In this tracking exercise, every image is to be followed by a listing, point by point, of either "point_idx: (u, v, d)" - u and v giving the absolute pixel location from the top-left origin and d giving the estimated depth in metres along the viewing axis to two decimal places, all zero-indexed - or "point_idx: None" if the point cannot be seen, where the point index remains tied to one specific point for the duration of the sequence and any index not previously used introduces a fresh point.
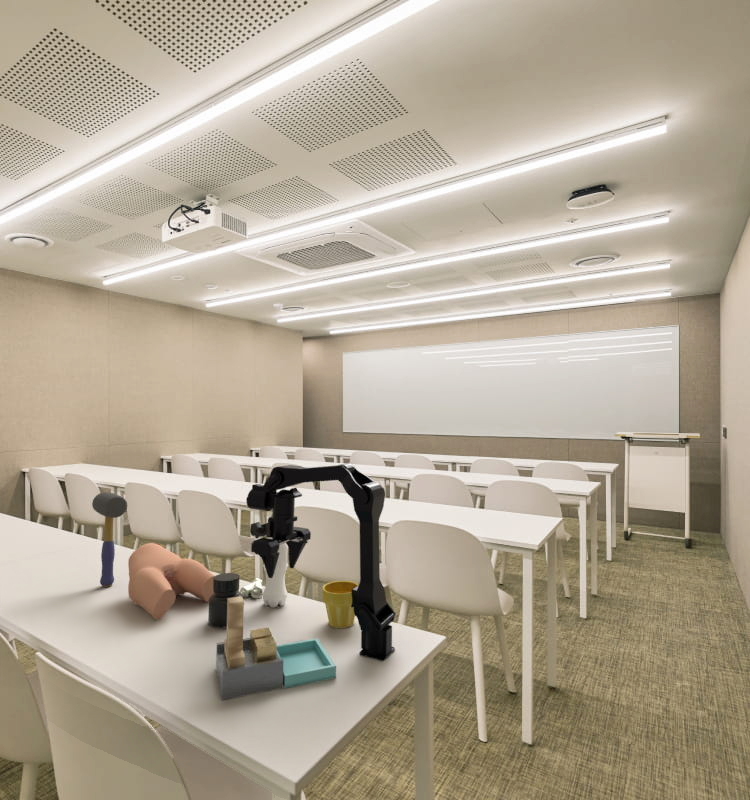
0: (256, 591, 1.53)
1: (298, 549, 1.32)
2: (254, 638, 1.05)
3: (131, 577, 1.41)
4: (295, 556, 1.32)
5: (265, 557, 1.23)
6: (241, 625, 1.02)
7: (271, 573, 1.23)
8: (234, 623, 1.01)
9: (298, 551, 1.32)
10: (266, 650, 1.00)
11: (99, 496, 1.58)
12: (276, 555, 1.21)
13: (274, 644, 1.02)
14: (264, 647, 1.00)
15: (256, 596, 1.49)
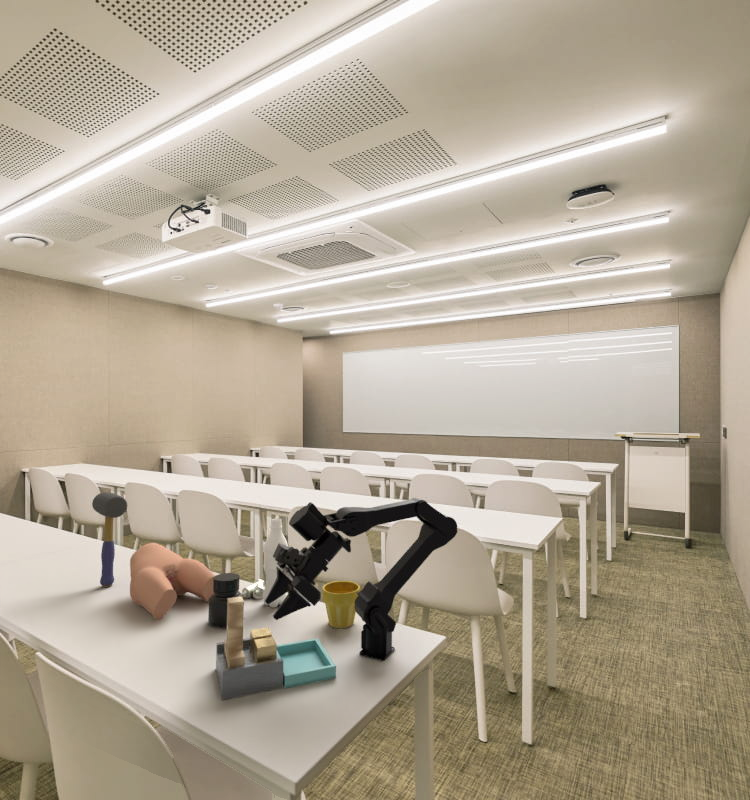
0: (258, 591, 1.53)
1: (288, 589, 1.12)
2: (254, 638, 1.05)
3: (132, 577, 1.41)
4: (280, 594, 1.11)
5: (292, 597, 1.01)
6: (241, 625, 1.02)
7: (282, 616, 1.01)
8: (234, 623, 1.01)
9: (286, 591, 1.12)
10: (266, 650, 1.00)
11: (99, 496, 1.58)
12: None
13: (274, 644, 1.02)
14: (264, 647, 1.00)
15: (258, 597, 1.49)
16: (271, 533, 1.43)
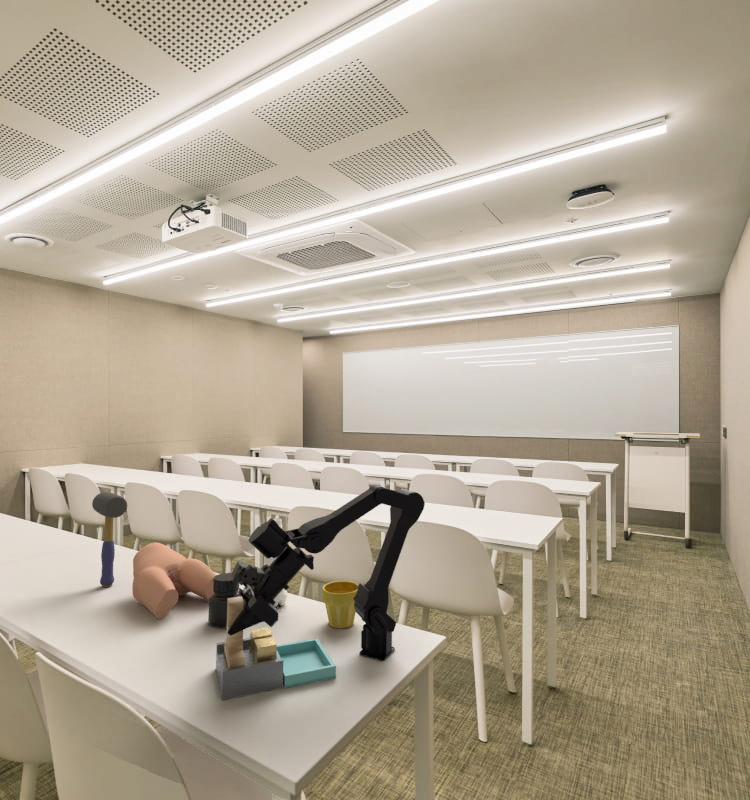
0: None
1: None
2: (254, 638, 1.05)
3: (135, 576, 1.42)
4: None
5: (246, 613, 1.01)
6: None
7: (236, 631, 1.00)
8: None
9: None
10: (266, 650, 1.00)
11: (99, 496, 1.58)
12: None
13: (274, 644, 1.02)
14: (264, 647, 1.00)
15: None
16: None
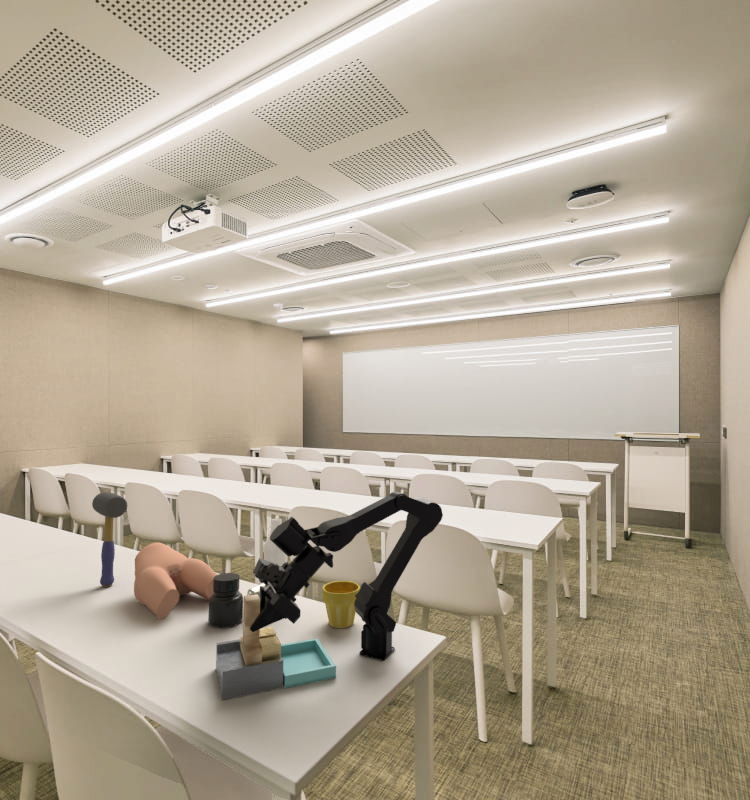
0: None
1: None
2: None
3: (136, 576, 1.42)
4: None
5: (268, 610, 1.02)
6: None
7: (258, 628, 1.02)
8: (250, 620, 1.02)
9: None
10: (270, 649, 1.01)
11: (99, 496, 1.58)
12: None
13: (278, 643, 1.02)
14: (268, 647, 1.01)
15: None
16: (271, 533, 1.43)
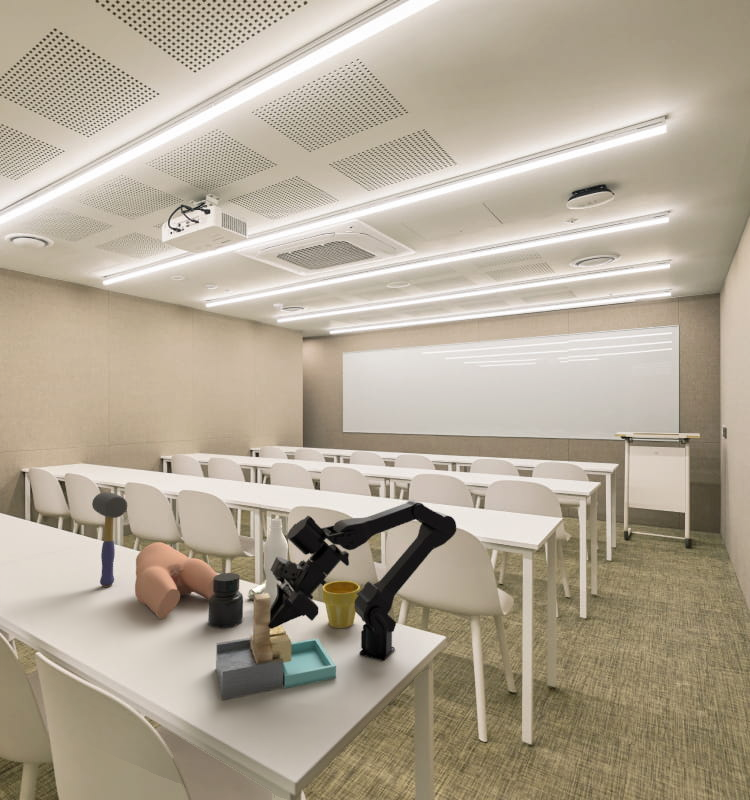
0: None
1: None
2: None
3: (138, 576, 1.42)
4: None
5: (286, 607, 1.04)
6: (268, 621, 1.04)
7: (276, 625, 1.04)
8: (261, 619, 1.03)
9: None
10: (280, 647, 1.02)
11: (99, 496, 1.58)
12: None
13: (289, 642, 1.03)
14: (278, 645, 1.02)
15: None
16: (271, 533, 1.43)
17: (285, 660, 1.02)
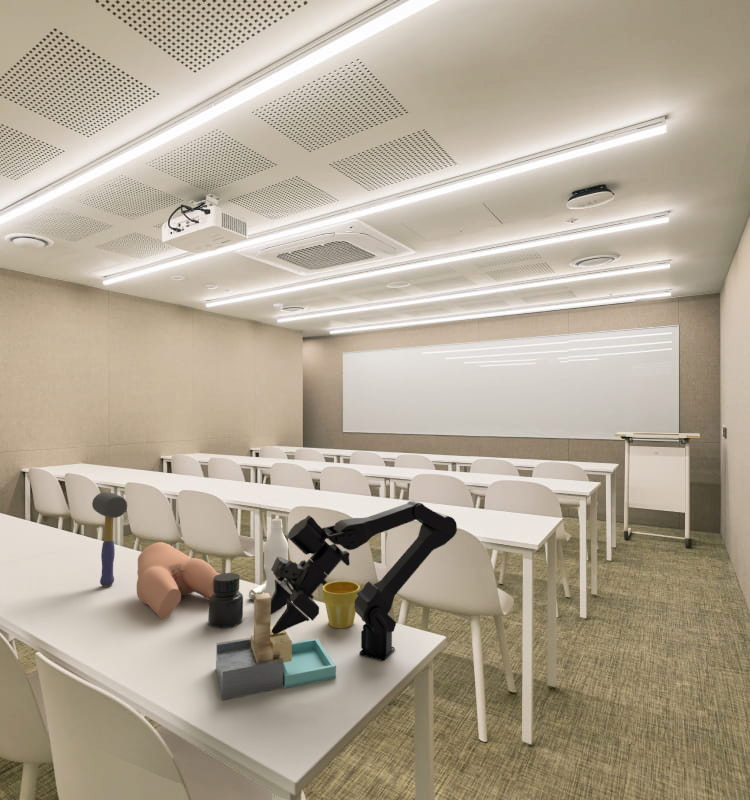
0: None
1: (286, 602, 1.12)
2: None
3: (139, 576, 1.42)
4: (278, 607, 1.11)
5: (290, 612, 1.01)
6: (268, 621, 1.04)
7: (280, 630, 1.01)
8: (261, 619, 1.03)
9: (284, 604, 1.12)
10: (281, 647, 1.02)
11: (99, 496, 1.58)
12: None
13: (289, 641, 1.03)
14: (279, 645, 1.02)
15: None
16: (271, 533, 1.43)
17: (285, 660, 1.02)
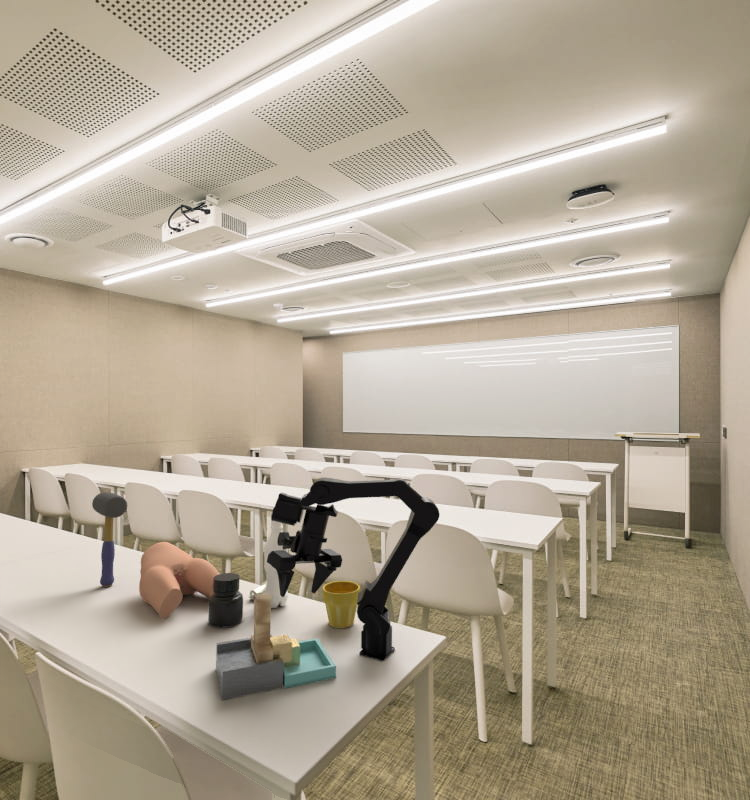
0: None
1: (323, 574, 1.18)
2: (299, 647, 1.08)
3: (142, 575, 1.43)
4: (319, 581, 1.18)
5: (280, 572, 1.12)
6: (268, 621, 1.04)
7: (283, 591, 1.11)
8: (261, 619, 1.03)
9: (322, 577, 1.18)
10: (281, 647, 1.02)
11: (99, 496, 1.58)
12: (289, 574, 1.09)
13: (289, 641, 1.03)
14: (279, 645, 1.02)
15: None
16: (272, 533, 1.43)
17: (285, 660, 1.02)
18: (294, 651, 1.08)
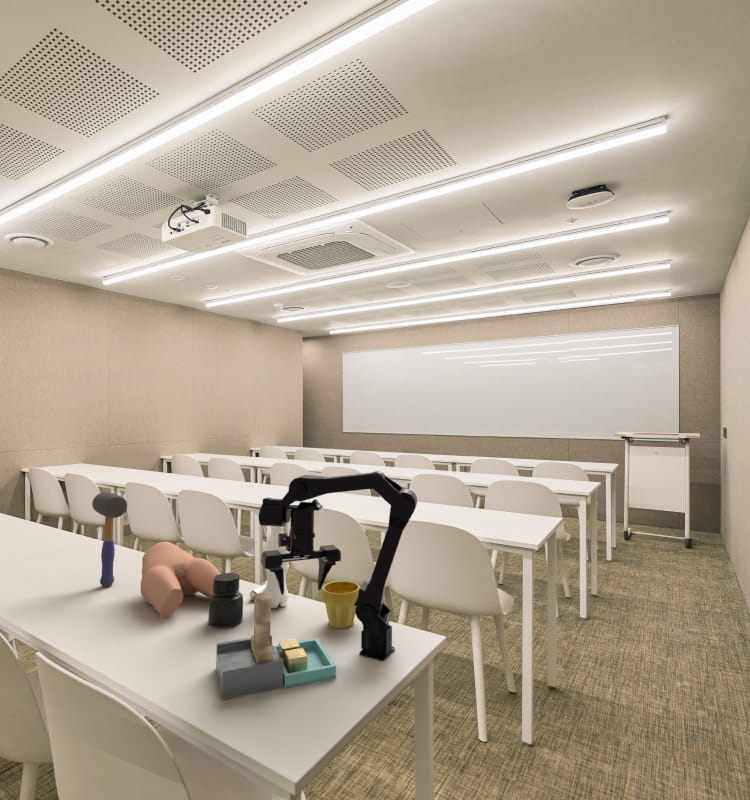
0: None
1: (322, 570, 1.19)
2: (299, 647, 1.08)
3: (143, 575, 1.43)
4: (320, 577, 1.19)
5: None
6: (268, 621, 1.04)
7: (280, 589, 1.16)
8: (261, 619, 1.03)
9: (322, 572, 1.19)
10: (303, 665, 1.03)
11: (99, 496, 1.58)
12: (278, 571, 1.13)
13: None
14: (306, 662, 1.04)
15: None
16: (272, 533, 1.43)
17: (290, 672, 1.02)
18: None
